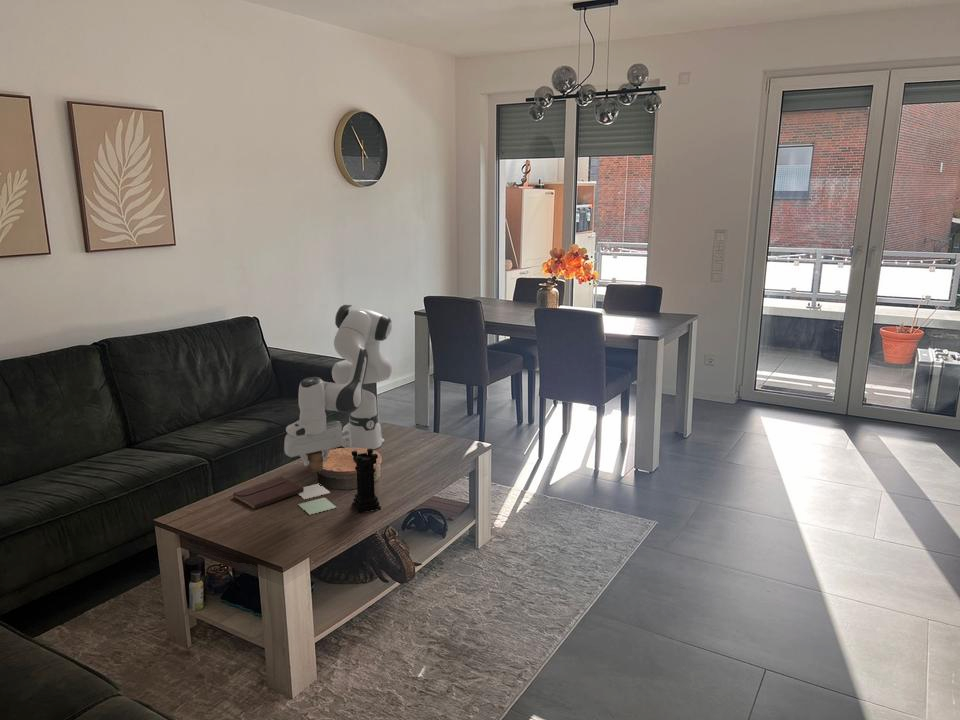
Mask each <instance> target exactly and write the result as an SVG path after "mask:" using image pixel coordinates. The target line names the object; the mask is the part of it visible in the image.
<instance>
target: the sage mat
mask: <svg viewBox="0 0 960 720" xmlns="http://www.w3.org/2000/svg"><path fill="white" fill-rule="evenodd" d="M298 505H299V506H298ZM298 505H297V506H298V507H299V508H301V509H302V510H303V511H304V510H305V511H306V512H307V513H308V514H309V516H312V515H311V514H314V515H316V514H315V513H317V514H320V513H319V512H321V513H324V512H323V511H325V512H327V510H328V511H331V509H332V510H335V508H336V509H337V506H336V505H335V504H334V503H332V502H331V501H330V500H329V499H327V498H326V497H321V498H320V497H319V498H317V499H313V500H310V501H309V500H308V501H307V502H301V503H299V504H298ZM305 511H304V512H305ZM306 512H305V513H306ZM307 513H306V514H307ZM308 514H307V515H308Z"/></svg>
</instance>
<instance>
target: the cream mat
mask: <svg viewBox="0 0 960 720" xmlns="http://www.w3.org/2000/svg"><path fill="white" fill-rule="evenodd" d="M319 484H320V483H315V484H311V485H307V486H302V487H303V488H304V491H303V492H300V493H298V494H297V495H298V496H299V497H300V496H301V497H300V498H302V500H304V501H305V499H306V500H309V498H310V499H314V498H317V497H322V496H325V495H329V494H331V491H329V490H328V489H327V488H326V487H324V486H323V485H322V486H320V485H321V484H320V485H319ZM321 495H322V496H321ZM313 497H314V498H313Z"/></svg>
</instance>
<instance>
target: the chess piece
mask: <svg viewBox="0 0 960 720" xmlns="http://www.w3.org/2000/svg"><path fill="white" fill-rule="evenodd" d="M378 455H379V454H378V453H374V449H372V448H370V449H367V451H366V452H363V453H358V451H357V450H351V456H352V458H353V459H352V460H353V462H354V463H355V464H356V466H354V469H355V472H356V487H357V488H356V490H357V491H356V494H354V498H353V502H351V505H352V506H353V508H354V507H355V508H354V509H355V510H357V511H356V513H357V514H363V513H362V512H364V513H367V512H366V511H369V512H372V511H371V510H374V511H377V510H376V509H379V510H381V509H382V508H381V506H380V502H379V499H378V496H377V495H376V494H375V493H376V492H375V473H376V469H375V466H374V465H377V464H378V463H377V459H378V458H379V456H378Z"/></svg>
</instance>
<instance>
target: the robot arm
mask: <svg viewBox="0 0 960 720" xmlns="http://www.w3.org/2000/svg"><path fill="white" fill-rule="evenodd" d="M334 319H335V320H334V324H335V326H336V328H337V332H336V334H335V336H334V339H333V347H334V350H335V352H336V353H337V354H338V355H339V356H340V357H341V358H342V359H344V360H340V361H337V362H335V363H334V365H333V366H332V368H331V376H332V379H333V381H334V382H330V381H329V382H328V381H325V380H323V379H322V378H321V377H317V376H310V377H307V378H304V379H302V380H301V381H300V383H299V386H298V408H299V411H300V413H299V419H298V420H296V421H295V422H293V423H291V424H288V425H287V426H286V427H285V432H286V435H285V437H284V446H283V447H284V454H285V455H286V456H287V457H289V458H294V457H300V458H301V459H302V462H303V466H305V467H308V465H310V464H309V460H308V458H307V454H308V453H313V452H317V451H322V452H323V453H322V458H323V463H324V462H325V463H326V462H327V461H328V459H327V458H328V455H329V454H330V451H331V450H330V449H335V448H338V447H342V448H343V447H361V448H368V449H370V448H372V449H373V450H377V449H379V448H380V447H381V446H382V445H383V444H384V443H385V438H383V437H382V436H383V435H382V427H381V423H378V422H379V415H378V413H377V409H378V408H377V398H376V395H375V394H374V393H372V392H371V391H368V390H365V389H363V387H364V385H366V384H373V383H375V384H376V383H380V382H384V381H387V380H389V378H390V377H391V376H392V373H393V367H392V363H391V361H390V360H389V359H388V358H387V357H385V356H383V355H382V353H381V351H380V344H381V343H380V342H383V341H385V340H387V338H388V337H389V335H390V334H391V332H392V326H393V325H392V319H391V318H390V316H387V314H384V313H380V312H377V311H375V310H372V309H368V308H364V307H360V306H353V305H352V304H343V305H341V306H340V307H339V308H338V310H337V312H336V313H335V318H334ZM326 410H327V411H335V412H340V413H344V414H348V417H349V418H348V419H349V420H348V422H347V424H346V425H344V426H343V425H342V423H341V422H340V421H338V420H333V421H328V422H327V414H326ZM342 426H343V427H342Z"/></svg>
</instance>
